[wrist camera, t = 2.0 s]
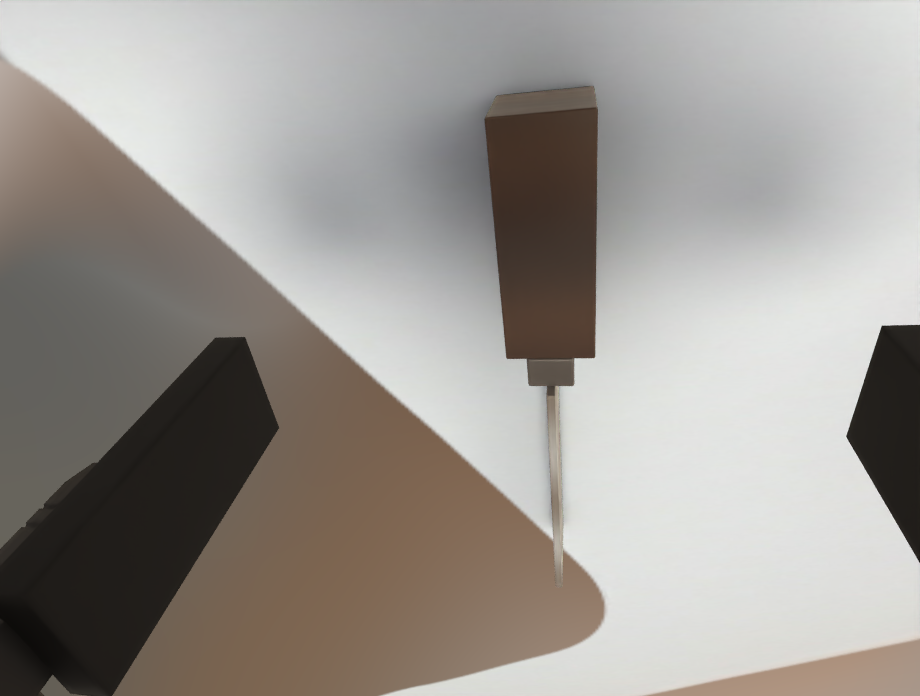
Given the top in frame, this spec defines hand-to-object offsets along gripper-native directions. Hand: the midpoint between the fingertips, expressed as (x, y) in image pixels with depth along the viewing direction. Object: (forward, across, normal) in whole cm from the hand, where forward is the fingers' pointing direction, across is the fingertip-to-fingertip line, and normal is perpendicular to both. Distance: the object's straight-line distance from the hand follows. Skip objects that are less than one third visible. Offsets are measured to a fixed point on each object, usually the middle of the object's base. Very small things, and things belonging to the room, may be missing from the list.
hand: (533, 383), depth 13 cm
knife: (+9, 0, -6) cm, 11 cm away
